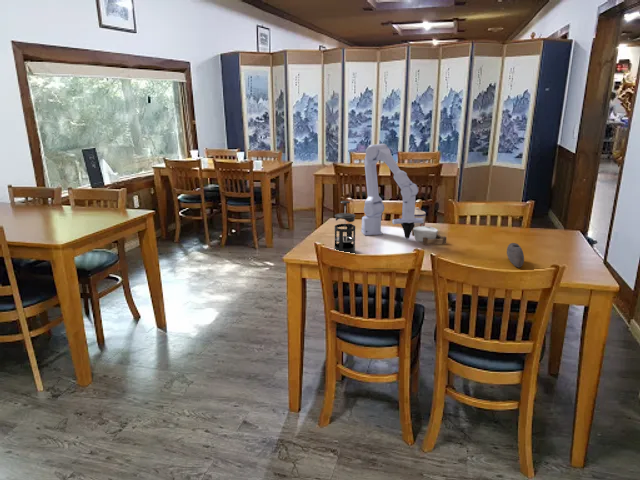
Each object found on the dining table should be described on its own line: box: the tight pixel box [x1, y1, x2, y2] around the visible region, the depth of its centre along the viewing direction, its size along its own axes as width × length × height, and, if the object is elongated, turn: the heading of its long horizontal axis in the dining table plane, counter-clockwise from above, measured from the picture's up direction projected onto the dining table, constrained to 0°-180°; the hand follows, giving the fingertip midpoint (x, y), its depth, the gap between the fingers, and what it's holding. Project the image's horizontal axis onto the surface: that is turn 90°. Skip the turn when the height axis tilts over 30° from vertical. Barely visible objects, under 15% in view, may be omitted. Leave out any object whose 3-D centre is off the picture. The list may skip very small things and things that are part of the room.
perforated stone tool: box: [506, 242, 525, 268], centre depth 177 cm, size 15×5×7 cm, turn 167°
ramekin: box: [413, 226, 439, 243], centre depth 210 cm, size 11×11×5 cm
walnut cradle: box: [411, 229, 448, 246], centre depth 211 cm, size 11×17×3 cm, turn 8°
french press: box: [334, 200, 357, 254], centre depth 190 cm, size 12×9×23 cm
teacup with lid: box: [413, 206, 427, 229], centre depth 228 cm, size 12×9×12 cm
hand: (407, 238), depth 209 cm, fingers closed
